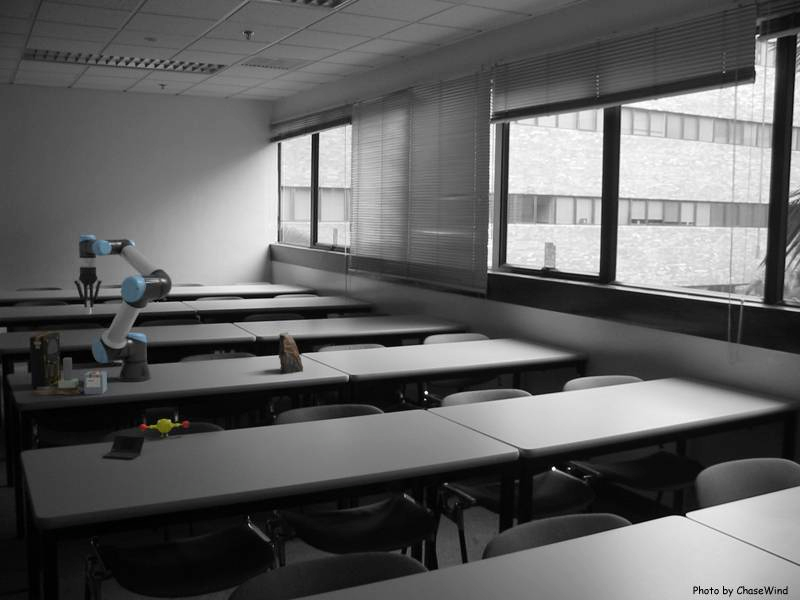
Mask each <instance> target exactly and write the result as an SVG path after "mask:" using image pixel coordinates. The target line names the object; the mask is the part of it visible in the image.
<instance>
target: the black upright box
mask: <svg viewBox="0 0 800 600" xmlns="http://www.w3.org/2000/svg"><path fill="white" fill-rule="evenodd" d="M60 345H61V344H60V333H59V332H58V331H57V332H55V331H49V332H43V333H39V334H37V335H34V336H31V337H30V338H29V349H30V350H29V351H30V354H29V355H30V356H29V357H30V373H31V379H30V380H31V389H36V390H37V387H55V386H56V384H57V385H58V381H59V380H61V379H62V373H61V372H62V371H61V370H62V369H61V346H60Z"/></svg>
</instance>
